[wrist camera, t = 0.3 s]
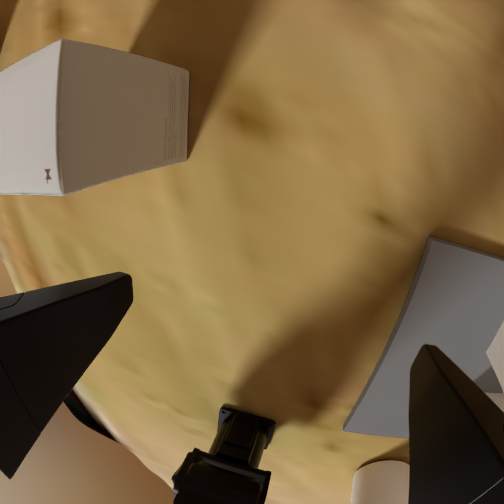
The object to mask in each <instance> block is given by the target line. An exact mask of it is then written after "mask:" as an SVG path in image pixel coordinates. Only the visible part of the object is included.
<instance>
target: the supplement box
mask: <svg viewBox="0 0 504 504" xmlns="http://www.w3.org/2000/svg"><path fill="white" fill-rule="evenodd" d="M188 100H189V71H188V70H186V69H183V68H180V67H177V66H174V65H171V64H168V63H165V62H161V61H158V60H155V59H151V58H148V57H144V56H140V55H136V54H132V53H128V52H125V51H120V50H116V49H112V48H107V47H103V46H98V45H93V44H89V43H83V42H78V41H72V40H67V39H60V40H57V41H55V42H53V43H51V44H49V45H47V46H45V47H43V48H41V49H39V50H37V51H35V52H33V53H32V54H30V55H28V56H26V57H24V58H23V59H21V60H19V61H17V62H16V63H14V64H12V65H11V66H9V67H7V68H6V69H4V70H2V71H1V72H0V195H3V194H10V195H53V196H65V195H68V194H71V193H74V192H77V191H80V190H83V189H87V188H90V187H93V186H96V185H99V184H103V183H106V182H109V181H113V180H116V179H119V178H123V177H126V176H130V175H134V174H137V173H141V172H145V171H149V170H152V169H156V168H160V167H164V166H168V165H173V164H176V163H181V162H186V161H187V131H188Z"/></svg>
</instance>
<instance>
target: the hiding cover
mask: <svg viewBox="0 0 504 504" xmlns="http://www.w3.org/2000/svg"><path fill="white" fill-rule="evenodd" d="M486 354H487V356H488V358H489V360H490V363H491V365H492V367H493V369H494V371H495V373H496V376H497V378H498V380H499V382H500V385H501V387H502V390H503V392H504V321H503V323H502V325H501V327H500V328H499V330H498V332H497V334H496V336H495V337H494V339H493V341H492V343H491V344H490V346H489V348H488V350H487V351H486Z"/></svg>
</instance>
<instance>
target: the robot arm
mask: <svg viewBox="0 0 504 504" xmlns="http://www.w3.org/2000/svg"><path fill="white" fill-rule="evenodd" d="M132 302H133V286H132V278H131V276H130V275H129V274H126V273H123V272H115V273H111V274H106V275H101V276H97V277H92V278H87V279H83V280H78V281H74V282H69V283H64V284H60V285H55V286H51V287H46V288H42V289H37V290H33V291H28V292H25V293H19V294H15V295H10V296H5V297H0V471H1V472H2V473H4V475H6V476H7V477H8V478H9V479H11V478H12V477H13V475H14V474H15V472H16V471H17V469H18V467H19V466H20V464H21V463H22V461H23V460H24V458H25V456H26V454H28V452H29V450H30V449H31V447H32V446H33V444H34V443H35V441H36V440H37V438H38V437H39V435H40V434H41V432H42V431H43V429H44V427H45V426H46V425H47V423H48V422H49V421H50V419H51V418H52V416H53V415H54V413H55V412H56V411H57V409H58V408H59V406H60V405H61V403H62V402H63V401H64V399H65V398H66V397H67V395H68V394H69V392H70V391H71V390H72V388H73V387H74V386H75V384H76V383H77V382H78V380H79V379H80V377H81V376H82V375H83V373H84V372H85V371H86V369H87V368H88V367H89V365H90V364H91V363H92V361H93V360H94V359H95V358H96V356H97V355H98V354H99V352H100V351H101V350H102V348H103V347H104V346H105V345H106V343H107V342H108V340H109V339H110V338H111V336H112V335H113V333H114V332H115V330H116V328H117V327H118V325H119V324H120V322H121V320H122V319H123V317H124V316H125V314H126V312H127V311H128V309H129V308H130V306H131V304H132ZM408 416H409V451H410V468H409V499H408V504H504V412H503V411H502V410H501V409H500V408H499V407H498V406H497V405H496V404H495V403H494V402H493V401H492V400H491V399H490V398H489V397H488V396H487V395H486V394H485V393H484V392H483V391H482V390H481V389H480V388H479V387H478V386H477V385H476V384H475V383H474V382H473V381H472V380H471V379H470V378H469V377H468V376H467V375H466V374H465V373H464V372H463V371H462V370H461V369H460V368H459V367H458V366H457V365H456V364H455V363H454V362H453V361H452V360H451V359H450V358H449V357H448V356H447V355H445V354H444V353H443V352H442V351H441V350H440V349H439V348H438V347H437V346H435V345H430V344H424V345H422V347H421V348H420V350H419V352H418V354H417V356H416V358H415V360H414V361H413V363H412V365H411V368H410V389H409V414H408ZM275 424H276V423H275V421H273V420H269V419H265V418H261V417H257V416H253V415H250V414H246V413H242V412H239V411H235V410H232V409H229V408H225V407H221V409H220V411H219V420H218V430H217V435H216V437H215V439H214V441H213V444H212V446H211V448H210V450H209V453H206V452H203V451H200V449H197V448H194V450H193V452H188V454H187V456H186V458H185V460H184V462H183V463H182V465H181V466H180V467H179V469H178V470H177V471H176V472H175V473H174V475H173V476H172V481H173V483H174V485H173V487H174V488H173V494H175V495H176V497H175V499H174V501H173V504H264V503H265V499H266V495H267V491H268V486H269V482H270V477H271V471H264V470H260V469H258V466H259V463H260V460H261V457H262V454H263V450H264V449H267V447H268V444H269V441H270V439H271V436H272V433H273V430H274V428H275Z"/></svg>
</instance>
